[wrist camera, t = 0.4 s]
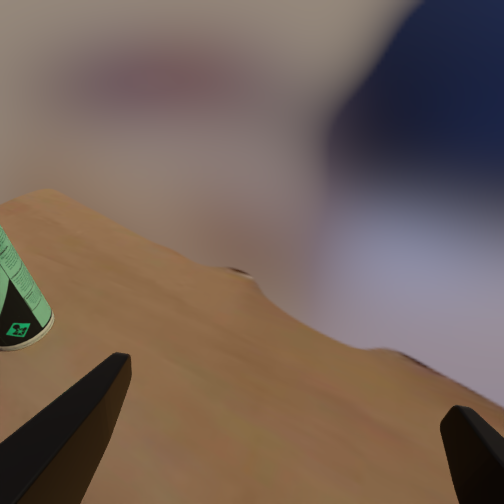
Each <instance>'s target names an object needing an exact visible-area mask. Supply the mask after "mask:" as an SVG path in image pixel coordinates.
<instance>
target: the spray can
mask: <svg viewBox="0 0 504 504" xmlns="http://www.w3.org/2000/svg"><path fill="white" fill-rule="evenodd" d="M53 323H54V314H53V312H52V310H51V308H50V306H49V305H48V303H47V301H46V300H45V298H44V296H43V295H42V293H41V291H40V290H39V288H38V287H37V285H36V283H35V282H34V280H33V278H32V277H31V275H30V273H29V272H28V270H27V268H26V267H25V265H24V263H23V262H22V260H21V258H20V257H19V255H18V254H17V252H16V250H15V249H14V247H13V245H12V244H11V242H10V240H9V239H8V237H7V235H6V234H5V232H4V230H3V229H2V227H1V226H0V350H4V351H13V350H19V349H22V348H25V347H27V346H30V345H32V344H33V343H35V342H37V341H38V340H40V339H41V338H42V337H43V336H44V335H46V334H47V332H48V331H49V330H50V329H51V327H52V325H53Z"/></svg>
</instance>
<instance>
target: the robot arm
mask: <svg viewBox="0 0 504 504" xmlns="http://www.w3.org/2000/svg"><path fill="white" fill-rule="evenodd" d="M131 376H132V370H131V356H130V355H129V354H125V353H119V352H116V353H113V354H112V355H110V356H109V357H108V358H107V359H105V360H104V361H103V362H102V363H100V364H99V365H98V366H97V367H95V368H94V369H93V370H92V371H90V372H89V373H88V374H87V375H85V376H84V377H83V378H82V379H80V380H79V381H78V382H77V383H75V384H74V385H73V386H72V387H70V388H69V389H68V390H67V391H65V392H64V393H63V394H62V395H60V396H59V397H58V398H57V399H55V400H54V401H53V402H52V403H50V404H49V405H48V406H47V407H45V408H44V409H43V410H42V411H40V412H39V413H38V414H37V415H35V416H34V417H33V418H32V419H30V420H29V421H28V422H27V423H25V424H24V425H23V426H21V427H20V428H19V429H18V430H16V431H15V432H14V433H13V434H11V435H10V436H9V437H8V438H6V439H5V440H4V441H3V442H1V443H0V504H80V503H81V501H82V499H83V497H84V495H85V492H86V490H87V488H88V486H89V484H90V482H91V480H92V478H93V475H94V473H95V471H96V469H97V467H98V465H99V463H100V461H101V458H102V456H103V454H104V452H105V450H106V448H107V445H108V443H109V441H110V438H111V435H112V433H113V430H114V427H115V424H116V421H117V419H118V416H119V413H120V410H121V407H122V404H123V401H124V399H125V396H126V393H127V390H128V387H129V384H130V381H131ZM440 432H441V436H442V440H443V444H444V448H445V452H446V456H447V461H448V465H449V469H450V473H451V477H452V481H453V485H454V488H455V492H456V495H457V498H458V501H459V504H504V438H503V437H502V436H501V435H500V434H499V433H498V432H497V431H496V430H495V429H494V428H493V427H491V426H490V425H489V424H488V423H487V422H486V421H485V420H484V419H483V418H482V417H481V416H480V415H479V414H477V413H476V412H475V411H474V410H473V409H471V408H470V407H466V406H459V405H455V406H453V407H452V408H451V409H450V410H449V412H448V413H447V414H446V415H445V417H444V418H443V419H442V421H441V423H440Z"/></svg>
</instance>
